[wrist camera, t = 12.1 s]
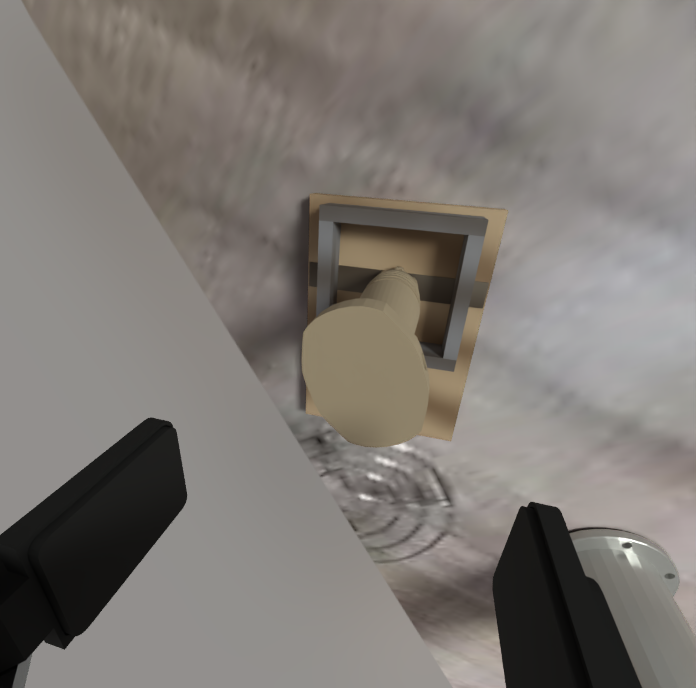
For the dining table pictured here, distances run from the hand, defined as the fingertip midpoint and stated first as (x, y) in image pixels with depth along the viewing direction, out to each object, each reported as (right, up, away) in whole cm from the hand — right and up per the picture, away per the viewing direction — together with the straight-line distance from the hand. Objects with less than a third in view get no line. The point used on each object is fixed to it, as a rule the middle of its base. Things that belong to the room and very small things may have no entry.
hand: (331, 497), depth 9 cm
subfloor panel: (+4, +6, +21) cm, 22 cm away
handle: (+4, +9, +18) cm, 21 cm away
